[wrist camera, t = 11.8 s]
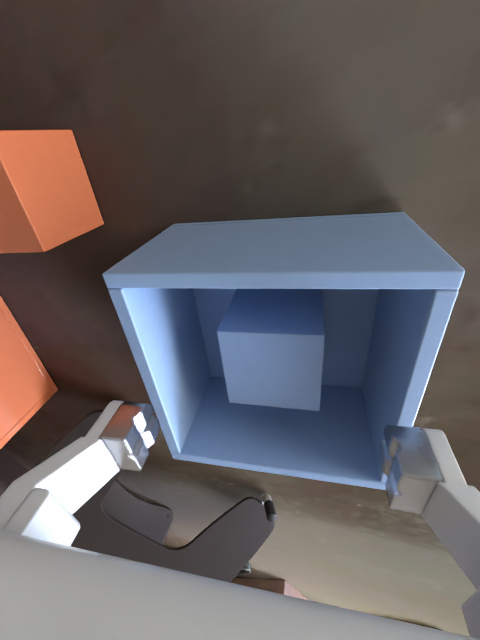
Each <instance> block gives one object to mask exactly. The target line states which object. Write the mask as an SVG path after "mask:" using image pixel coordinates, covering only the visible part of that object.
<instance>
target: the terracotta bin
mask: <svg viewBox="0 0 480 640" xmlns="http://www.w3.org/2000/svg"><path fill="white" fill-rule="evenodd" d="M57 390H58V389H57V387H56V385H55V384H54V382H53V380H52V379H51V377H50V375H49V374H48V372H47V371H46V369H45V367H44V366H43V364H42V362H41V361H40V359H39V358H38V356H37V354H36V353H35V351H34V349H33V348H32V346H31V345H30V343H29V341H28V340H27V338H26V336H25V335H24V333H23V331H22V330H21V328H20V327H19V325H18V323H17V322H16V320H15V318H14V317H13V315H12V314H11V312H10V310H9V309H8V307H7V305H6V304H5V302H4V301H3V299H2V297H1V296H0V449H1V448H2V447H3V446H4V445H5V444H6V443H7V442H8V441H9V440H10V439H11V438H12V437H13V436H14V435H15V434H16V433H17V431H18V430H19V429H20V428H21V427H22V426H23V425H24V424H25V423H26V422H27V421H28V420H29V419H30V418H31V417H32V416H33V415H34V414H35V413H36V412H37V411H38V410H39V409H40V408H41V407H42V406H43V405H44V404H45V403H46V402H47V401H48V399H49V398H50V397H51V396H52V395H53V394H54V393H55V392H56V391H57Z"/></svg>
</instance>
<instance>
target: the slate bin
mask: <svg viewBox="0 0 480 640" xmlns="http://www.w3.org/2000/svg"><path fill="white" fill-rule="evenodd" d="M464 273H465V270H464V269H463V268H462V267H461V266H460V265H459V264H458V263H457V262H456V261H455V260H454V259H453V258H452V257H451V256H450V255H449V254H447V253H446V252H445V251H444V250H443V249H442V248H441V247H440V246H439V245H438V244H437V243H436V242H435V241H434V240H433V239H432V238H431V237H429V236H428V235H427V234H426V233H425V232H424V231H423V230H422V229H421V228H420V227H419V226H418V225H417V224H416V223H415V222H414V221H412V220H411V219H410V218H409V217H408V216H407V215H406V214H405V213H404V212H390V213H371V214H352V215H332V216H313V217H294V218H274V219H255V220H236V221H217V222H197V223H178V224H173V225H171V226H170V227H168V228H167V229H166V230H164V231H163V232H161V233H160V234H158V235H157V236H156V237H154V238H153V239H151V240H150V241H148V242H147V243H146V244H144V245H143V246H141V247H140V248H138V249H137V250H136V251H134V252H133V253H131V254H130V255H128V256H127V257H126V258H124V259H123V260H121V261H120V262H118V263H117V264H116V265H114V266H113V267H111V268H110V269H108V270H107V271H106V272H104V273H103V274H102V276H103V278H104V281H105V283H106V286H107V288H109V289H108V291H109V294H110V297H111V299H112V302H113V304H114V307H115V310H116V312H117V315H118V317H119V320H120V323H121V325H122V328H123V330H124V333H125V336H126V338H127V341H128V343H129V346H130V349H131V351H132V354H133V356H134V359H135V362H136V364H137V367H138V369H139V372H140V375H141V377H142V380H143V382H144V385H145V388H146V390H147V393H148V395H149V398H150V401H151V403H152V406H153V408H154V411H155V413H156V416H157V419H158V421H159V424H160V426H161V429H162V432H163V434H164V437H165V439H166V442H167V445H168V447H169V450H170V452H171V455H172V457H173V459H179V460H186V461H193V462H200V463H207V464H213V465H220V466H227V467H234V468H241V469H247V470H254V471H261V472H268V473H275V474H281V475H288V476H295V477H302V478H309V479H315V480H322V481H329V482H336V483H343V484H349V485H356V486H363V487H370V488H376V489H383V490H386V487H385V485H386V481H387V478H388V477H387V476H386V475H385V474H384V473H383V471H382V468H381V462H380V445H381V441H382V440H383V439H385V436H384V429H385V427H386V425H392V426H405V427H413V424H414V421H415V418H416V415H417V412H418V409H419V406H420V403H421V401H422V398H423V395H424V392H425V389H426V386H427V383H428V380H429V377H430V374H431V371H432V368H433V365H434V362H435V359H436V356H437V353H438V350H439V347H440V344H441V342H442V339H443V336H444V333H445V330H446V327H447V324H448V321H449V318H450V315H451V312H452V309H453V306H454V303H455V300H456V297H457V294H458V289H459V288H460V285H461V282H462V279H463V276H464ZM236 289H322V295H323V312H324V330H325V341H324V355H323V369H322V384H321V398H320V410H319V411H312V410H302V409H291V408H281V407H270V406H260V405H249V404H239V403H230V402H229V399H228V393H227V387H226V381H225V376H224V370H223V364H222V358H221V353H220V347H219V341H218V336H217V330H218V328H219V326H220V324H221V321H222V319H223V317H224V315H225V313H226V311H227V309H228V306H229V304H230V302H231V300H232V298H233V296H234V294H235V292H236Z"/></svg>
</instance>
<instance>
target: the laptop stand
mask: <svg viewBox="0 0 480 640" xmlns="http://www.w3.org/2000/svg"><path fill="white" fill-rule="evenodd" d="M103 411H104V410H98V411H94V412H92V413H90V414H88V415H87V416H86V417H85V418H83V419H82V420H81V421H80V422H79V423H78V424H77V425H76V426H75V427H74V428H72V429H71V430H70V431H69V432H68V433H67V434H66V435H65V436H64V437H63V438H62V439H61V440H60V441H59V442H58V443H57V444H56V445H55V446H54V447H53V448H52V449H51V450H50V451H49V452H48V453H47V454H46V455H45V456H44V457H43V458H42V459H41V460H40V461H39V462H38V464H37V465H36V466H38V465H39V464H41V463H42V462H44V461H45V460H47V459H48V458H50V457H51V456H53V455H54V454H56V453H57V452H59V451H60V450H62V449H63V448H65V447H66V446H68V445H70V444H71V443H73V442H74V441H76V440H77V439H79V438H80V437H85V436H86V435H87V433H88V432H89V430H90V429H91V428H92V426H93V425H94V423H95V422H96V421H97V419H98V418H99V416H100V415H101V414H102V412H103ZM36 466H35V467H36ZM35 467H34V468H35ZM122 470H123V469H120V471H118V472H117V473H116V474H115V475H114V476H113V477H112V478H111V479H110V480H109V481H108V482H107V483H106V484H105V485H103V486H102V487H101V488H100V489H99V490H98V491H97V492H96V493H95V494H94V495H93V496H92V497H91V498H89V499H88V500H87V501H86V502H85V503H84V504H83V505H82V506H81V507H80V508H79V509H78V510H77V511H76V512H74V513H73V514H72V515H73V516H74V518H75V519H76V520H77V521H78V522H79V523H80V529H79V531H78V533H77V535H76V537H75V538H74V540H73V542H72V544H71V547H76V548H80V549H84V550H89V551H93V552H98V553H102V554H107V555H111V556H115V557H120V558H124V559H129V560H133V561H137V562H142V563H146V564H151V565H155V566H159V567H164V568H168V569H173V570H177V571H182V572H186V573H190V574H195V575H199V576H204V577H208V578H212V579H217V580H221V581H226V582H231V581H232V580H233V579H234V578H235V577H236V575H237V574H238V573H239V572H240V571H241V570H242V569H243V567H244V566H245V565H246V564H247V563H248V561H249V560H250V559H251V558H252V557H253V555H254V554H255V553H256V552H257V550H258V549H259V548H260V547H261V545H262V544H263V543H264V541H265V540H266V539H267V538H268V536H269V535H270V533H271V532H272V530H273V528H274V521H275V520H276V513H275V509H274V505H273V502H272V498H271V496H270V495H269V494H267V493H264V494H262V495H260V496H259V497H258V498H257V499H256V498H254V497H246V498H244V499H243V500H241V501H240V502H239V503H237V504H236V505H235V506H233V507H232V508H231V509H229V510H228V511H227V512H225V513H224V514H223V515H221V516H220V517H219V518H218V519H216V520H215V521H214V522H212V523H211V524H210V525H209V526H208V527H207V528H205V529H204V530H203V531H202V532H201V533H200V534H199V535H198V536H196V537H195V538H194V539H193V540H192V541H191V542H189V543H188V544H186V545H185V546H182V547H179V548H171V547H167V546H165V545H163V543H164V540H165V538H166V535H167V533H168V530H169V528H170V525H171V522H172V520H173V512H172V510H171V509H169V508H167V507H164V506H161V505H156V504H153V503H149V502H146V501H144V500H141V499H139V498H137V497H136V496H134V495H133V494H131V493H130V492H128V491H127V490H126V489H125V488H124V487H123V486H122V485H121V484H120V483H119V482H118V481H117V480H116V479H117V478H118V476H119V475H120V473H121V472H122ZM167 514H168V516H166V515H167Z"/></svg>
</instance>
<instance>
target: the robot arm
mask: <svg viewBox="0 0 480 640" xmlns="http://www.w3.org/2000/svg"><path fill="white" fill-rule="evenodd" d="M153 411H154V409H153V407H152V405H151V404H144V403H135V402H126V401H117V400H113V401H111V402H110V403H109V404H108V405H107V407H106V408H105V409H104V411H103V412H102V414H101V415H100V416H99V418H98V419H97V421H96V422H95V423H94V425H93V426H92V428H91V429H90V430H89V432H88V433H87V435H86V436H85V437H80V438H79V439H77V440H76V441H74V442H73V443H71V444H70V445H68V446H66V447H65V448H63V449H62V450H60V451H59V452H57V453H56V454H54V455H53V456H51V457H50V458H48V459H47V460H45V461H44V462H42V463H41V464H39V465H38V466H36V467H35V468H33V469H31V470H30V471H28V472H27V473H25V474H24V475H22V476H21V477H19V478H18V479H16V480H15V481H13V482H12V484H11V485H10V486H9V487H8V488H7V490H6V491H5V492H4V493H3V495H2V496H1V497H0V640H480V492H479V491H478V490H477V489H476V488H475V487H474V486H469V485H467V484H466V481H465V479H464V477H463V474H462V472H461V470H460V468H459V465H458V463H457V461H456V458H455V456H454V454H453V452H452V449H451V447H450V445H449V442H448V440H447V438H446V436H445V433H444V432H443V431H442V430H437V429H424V428H418V427H405V426H392V425H386V427H385V429H384V436H385V439H383V440H382V441H381V445H380V462H381V468H382V471H383V473H384V474H385V475H386V476H387V477H388V478H387V481H386V485H385V487H386V492H387V497H388V501H389V506H390V509H395V510H401V511H407V512H413V513H418V514H422V517H423V518H424V520H425V521H426V522H427V524H428V525H429V526H430V528H431V529H432V530H433V532H434V533H435V534H436V536H437V537H438V538H439V540H440V541H441V542H442V544H443V545H444V546H445V548H446V549H447V550H448V552H449V553H450V554H451V556H452V557H453V558H454V560H455V561H456V562H457V564H458V565H459V566H460V568H461V569H462V570H463V572H464V573H465V574H466V576H467V577H468V578H469V580H470V581H471V582H472V583H473V585H474V586H475V587H476V589H477V591H476V592H475V593H474V594H473V595H472V596H471V597H470V598H469V599H468V600H467V601H465V603H464V604H463V605H462V606H461V607H462V611H463V614H464V617H465V621H466V624H467V627H468V631H469V634H470V637H468V636H464V635H459V634H455V633H451V632H446V631H442V630H437V629H433V628H429V627H424V626H420V625H415V624H411V623H407V622H402V621H398V620H393V619H389V618H384V617H380V616H376V615H371V614H367V613H362V612H358V611H354V610H349V609H345V608H340V607H336V606H332V605H327V604H323V603H318V602H314V601H309V600H305V599H301V598H296V597H292V596H287V595H283V594H279V593H274V592H270V591H265V590H261V589H257V588H252V587H248V586H243V585H239V584H234V583H230V582H226V581H221V580H217V579H212V578H208V577H204V576H199V575H195V574H190V573H186V572H182V571H177V570H173V569H168V568H164V567H159V566H155V565H151V564H146V563H142V562H137V561H133V560H129V559H124V558H120V557H115V556H111V555H107V554H102V553H98V552H93V551H89V550H84V549H80V548H76V547H71V544H72V542H73V540H74V538H75V537H76V535H77V533H78V531H79V529H80V523H79V522H78V521H77V520H76V519H75V518H74V516H73V515H72V514H73V513H74V512H76V511H77V510H78V509H79V508H80V507H81V506H82V505H83V504H84V503H85V502H86V501H87V500H88V499H89V498H91V497H92V496H93V495H94V494H95V493H96V492H97V491H98V490H99V489H100V488H101V487H102V486H103V485H105V484H106V483H107V482H108V481H109V480H110V479H111V478H112V477H113V476H114V475H115V474H116V473H117V472H118V471H120V469H125V470H133V471H141V469H142V467H143V465H144V463H145V461H146V459H147V457H148V455H149V452H148V448H149V447H150V446H151V445H152V444H154V443H155V440H156V438H157V436H158V431H159V422H158V419H157V417H155V416H154V415H153V414H152V413H153Z"/></svg>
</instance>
